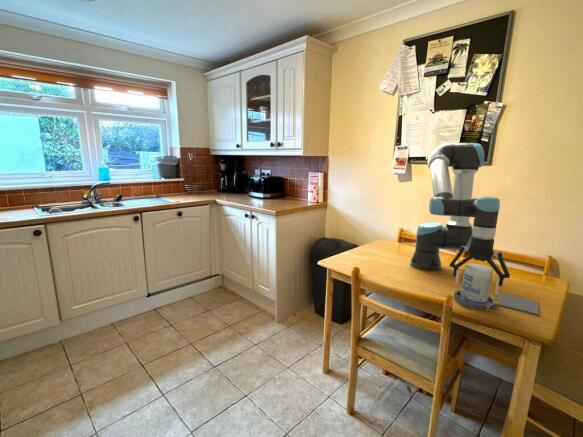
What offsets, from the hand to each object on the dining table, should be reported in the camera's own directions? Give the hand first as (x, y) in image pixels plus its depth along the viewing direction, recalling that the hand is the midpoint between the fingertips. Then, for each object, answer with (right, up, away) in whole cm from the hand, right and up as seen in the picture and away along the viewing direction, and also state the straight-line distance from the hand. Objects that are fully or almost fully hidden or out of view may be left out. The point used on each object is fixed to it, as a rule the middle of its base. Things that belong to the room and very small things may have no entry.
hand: (475, 288), depth 119 cm
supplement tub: (0, -6, +1) cm, 6 cm away
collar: (0, -6, +1) cm, 6 cm away
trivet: (+17, -6, 0) cm, 18 cm away
